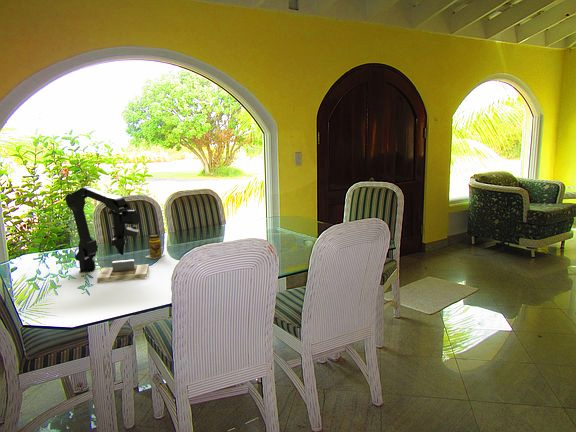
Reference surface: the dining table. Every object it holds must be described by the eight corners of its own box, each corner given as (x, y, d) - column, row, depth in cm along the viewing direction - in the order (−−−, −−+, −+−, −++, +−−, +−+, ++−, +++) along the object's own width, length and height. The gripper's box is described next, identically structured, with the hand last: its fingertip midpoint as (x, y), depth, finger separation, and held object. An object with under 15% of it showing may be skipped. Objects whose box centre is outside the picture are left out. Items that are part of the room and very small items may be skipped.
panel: (113, 276, 221) (111, 262, 220) (114, 275, 224) (112, 261, 222) (135, 274, 224) (133, 260, 222) (135, 273, 226) (134, 259, 225)
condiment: (155, 259, 248) (153, 237, 245) (144, 257, 252) (142, 235, 249) (165, 255, 254) (163, 234, 251) (154, 253, 258) (152, 232, 255)
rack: (97, 282, 214) (97, 277, 214) (102, 271, 228) (102, 267, 228) (146, 277, 219) (146, 273, 218) (148, 267, 233) (148, 263, 233)
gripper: (134, 226, 211) (138, 259, 214) (138, 218, 229) (141, 248, 232) (109, 228, 209) (112, 261, 212) (114, 219, 226) (118, 250, 230)
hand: (122, 254), depth 221 cm, fingers closed
